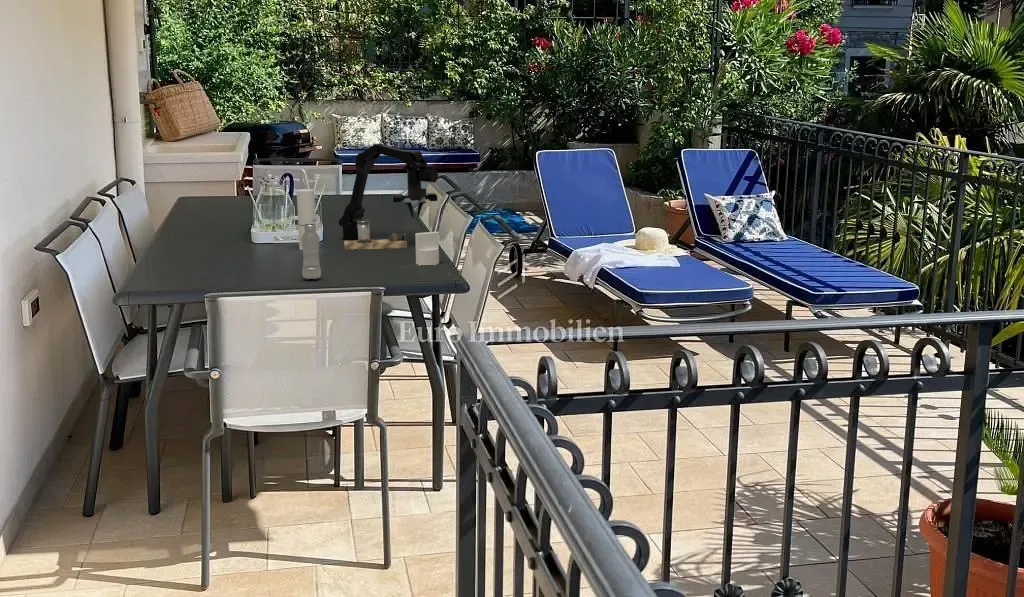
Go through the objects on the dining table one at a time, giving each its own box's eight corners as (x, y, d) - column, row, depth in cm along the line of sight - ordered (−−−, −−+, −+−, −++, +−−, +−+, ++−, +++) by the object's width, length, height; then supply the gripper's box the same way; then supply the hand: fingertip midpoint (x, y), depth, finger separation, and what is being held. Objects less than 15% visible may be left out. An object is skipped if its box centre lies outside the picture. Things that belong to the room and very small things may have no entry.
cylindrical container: (320, 249, 424) (317, 189, 418) (310, 252, 417) (307, 191, 412) (306, 247, 427) (303, 188, 421) (295, 250, 420) (292, 190, 415)
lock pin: (389, 241, 427) (389, 235, 427) (389, 240, 430) (389, 234, 429) (406, 240, 429) (406, 234, 428) (406, 239, 431) (405, 233, 431)
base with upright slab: (421, 266, 388) (420, 235, 385) (412, 262, 396) (411, 232, 393) (442, 264, 392) (442, 233, 389) (433, 260, 400) (433, 230, 397)
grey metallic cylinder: (358, 248, 424) (357, 221, 422) (357, 246, 430) (356, 219, 427) (371, 248, 425) (370, 221, 423) (370, 246, 431) (369, 219, 428)
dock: (344, 249, 422) (344, 236, 421) (344, 246, 430) (343, 233, 428) (407, 247, 427) (406, 234, 425) (405, 244, 434) (405, 231, 433)
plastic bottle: (303, 277, 368) (300, 223, 363) (322, 277, 368) (320, 223, 364) (301, 281, 362) (298, 226, 357) (320, 281, 362) (318, 225, 357)
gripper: (393, 183, 416) (394, 221, 419) (438, 182, 419) (439, 220, 422) (391, 180, 426) (392, 217, 430) (435, 179, 430) (436, 216, 433)
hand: (415, 217), depth 428 cm, fingers closed
